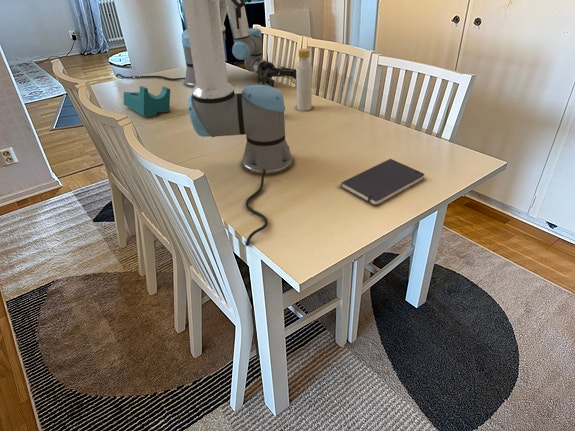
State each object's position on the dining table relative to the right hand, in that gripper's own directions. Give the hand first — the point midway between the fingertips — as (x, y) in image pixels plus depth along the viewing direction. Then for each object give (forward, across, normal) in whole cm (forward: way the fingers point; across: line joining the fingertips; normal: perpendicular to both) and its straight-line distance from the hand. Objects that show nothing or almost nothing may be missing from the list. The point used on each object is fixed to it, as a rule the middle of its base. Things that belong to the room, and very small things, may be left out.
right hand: (219, 29), depth 146 cm
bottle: (+30, -30, +3) cm, 43 cm away
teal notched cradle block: (+30, +32, -7) cm, 45 cm away
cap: (+8, -30, +3) cm, 32 cm away
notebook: (+31, -44, +65) cm, 84 cm away
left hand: (+24, -26, -13) cm, 37 cm away
